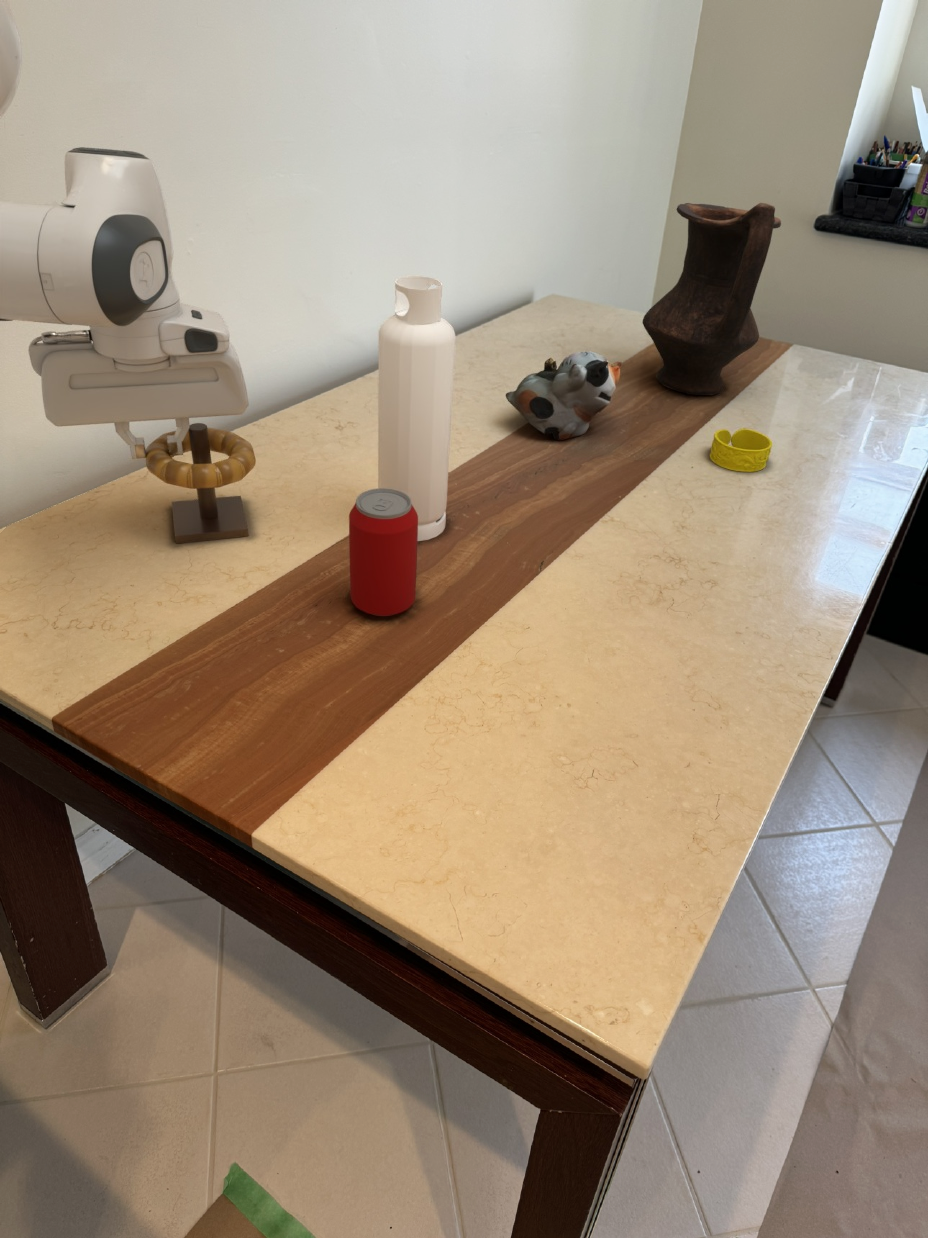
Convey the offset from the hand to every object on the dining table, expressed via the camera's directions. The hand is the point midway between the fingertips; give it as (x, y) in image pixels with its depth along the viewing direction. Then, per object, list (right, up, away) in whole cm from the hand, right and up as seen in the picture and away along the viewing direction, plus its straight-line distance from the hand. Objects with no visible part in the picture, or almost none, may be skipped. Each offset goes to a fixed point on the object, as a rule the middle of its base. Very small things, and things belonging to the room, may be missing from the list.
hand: (158, 454), depth 95 cm
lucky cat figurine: (+48, +11, +35) cm, 60 cm away
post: (+4, -7, +7) cm, 10 cm away
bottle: (+27, -7, +9) cm, 29 cm away
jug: (+71, +21, +51) cm, 90 cm away
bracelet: (+72, +5, +29) cm, 78 cm away
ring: (+4, 0, +2) cm, 5 cm away
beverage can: (+25, -16, -4) cm, 30 cm away
